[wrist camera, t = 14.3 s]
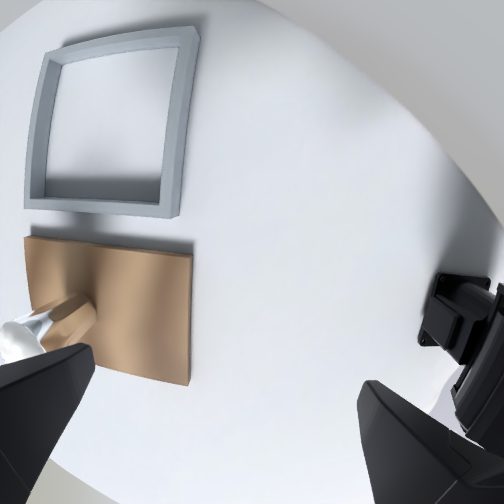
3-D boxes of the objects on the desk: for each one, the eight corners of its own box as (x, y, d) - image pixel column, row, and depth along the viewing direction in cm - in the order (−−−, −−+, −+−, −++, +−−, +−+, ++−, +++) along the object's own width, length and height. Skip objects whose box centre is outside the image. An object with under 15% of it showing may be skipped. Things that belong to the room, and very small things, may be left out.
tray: (200, 37, 18) (194, 25, 16) (178, 215, 21) (170, 218, 19) (57, 59, 18) (45, 52, 16) (38, 206, 21) (23, 208, 19)
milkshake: (63, 266, 21) (-24, 310, 11) (111, 306, 21) (35, 373, 12) (50, 305, 22) (-25, 356, 12) (93, 342, 22) (28, 411, 13)
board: (193, 254, 21) (189, 258, 20) (190, 379, 24) (187, 386, 23) (30, 235, 22) (23, 237, 21) (44, 341, 24) (39, 345, 23)
